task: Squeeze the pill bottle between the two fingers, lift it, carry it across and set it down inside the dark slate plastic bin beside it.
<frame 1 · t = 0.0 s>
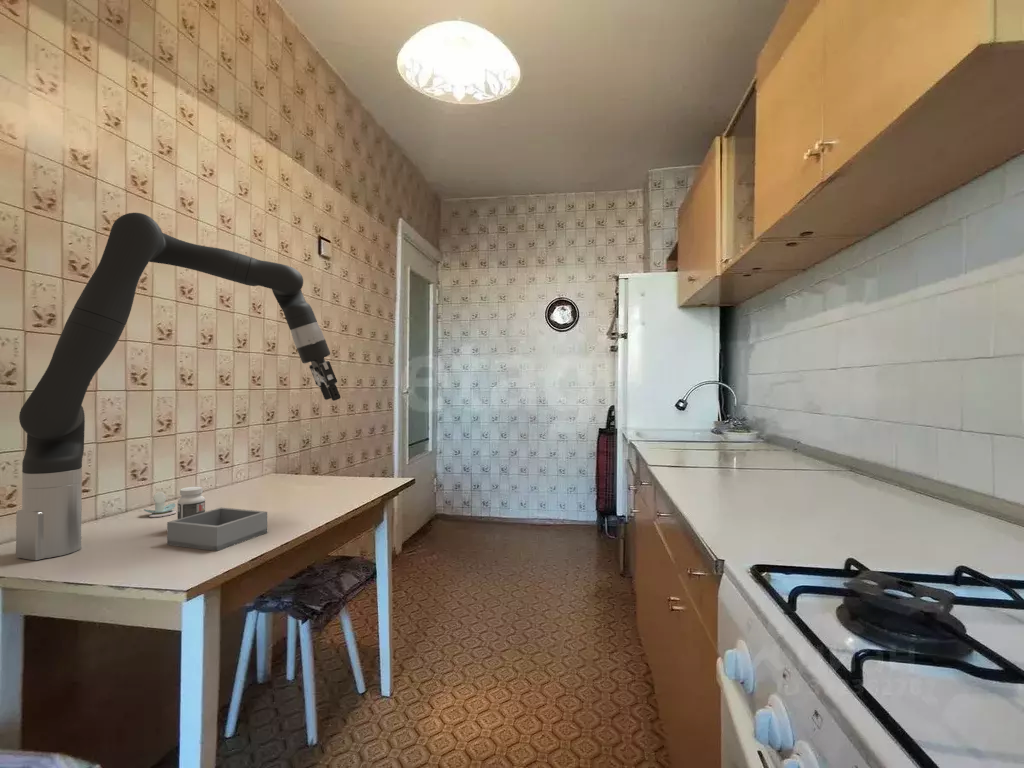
hand: (332, 399, 136), 31 cm above the table, tool tilted 20°, fingers open, 8 cm apart
bin: (219, 538, 115), on the table
pill bottle: (191, 529, 122), on the table
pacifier: (161, 516, 136), on the table
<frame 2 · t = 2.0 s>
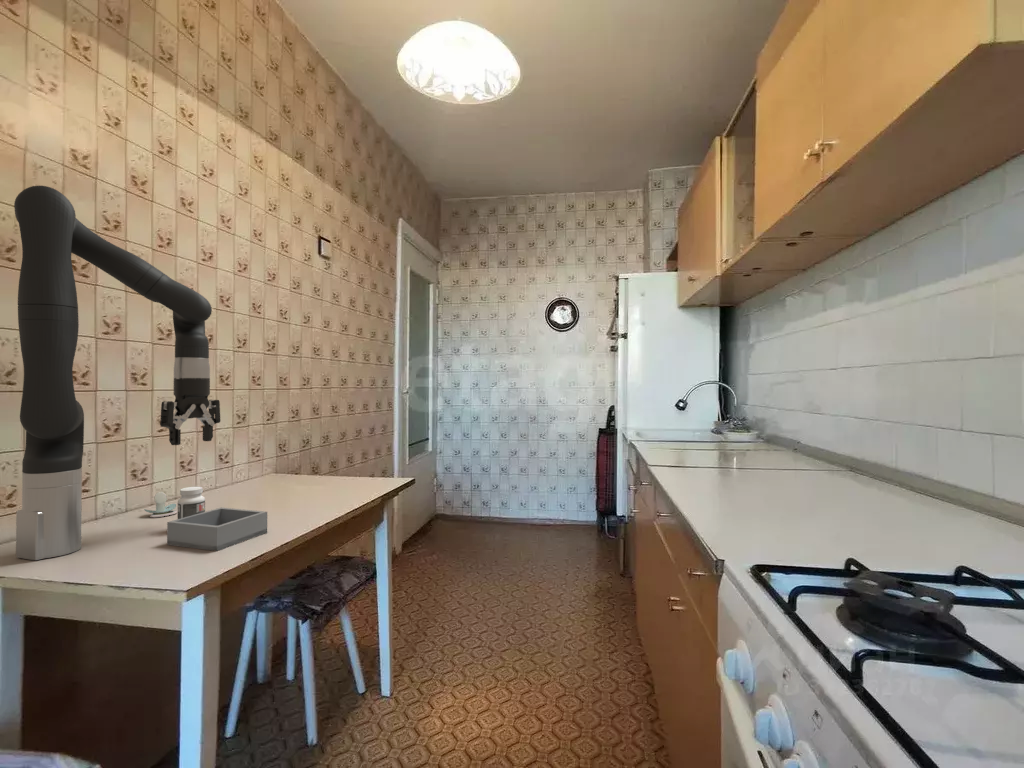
hand: (191, 443, 122), 21 cm above the table, tool pointing down, fingers open, 8 cm apart
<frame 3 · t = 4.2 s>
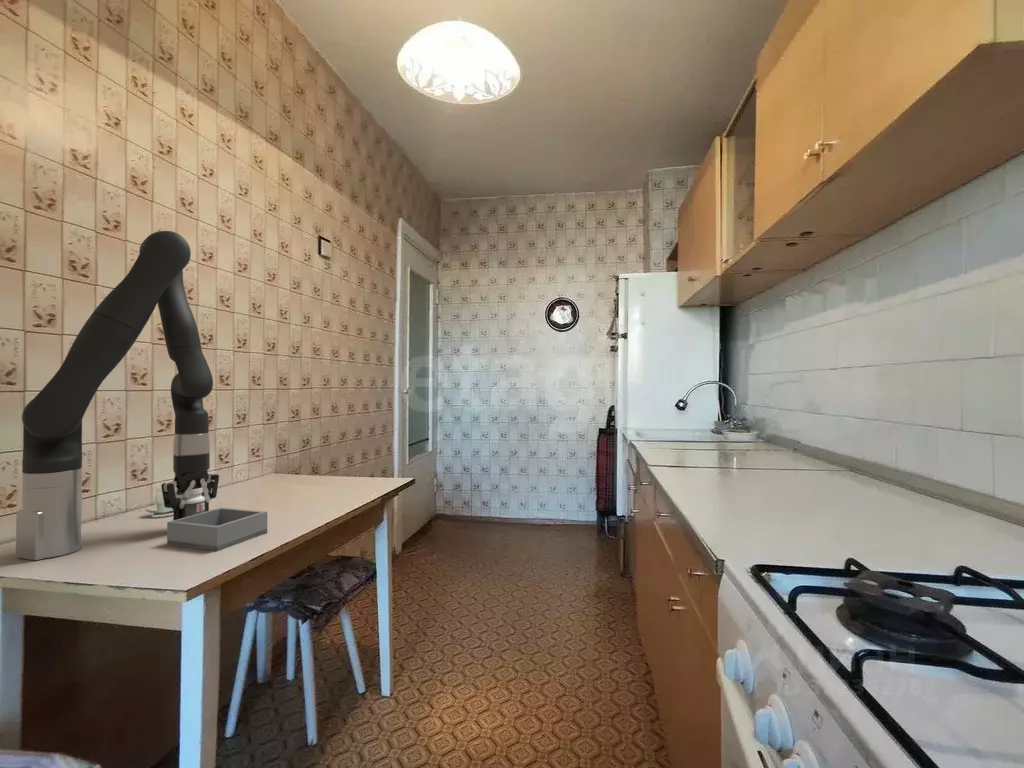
hand: (191, 520, 122), 2 cm above the table, tool pointing down, fingers closed on pill bottle, 5 cm apart
pill bottle: (191, 529, 122), on the table, touching gripper
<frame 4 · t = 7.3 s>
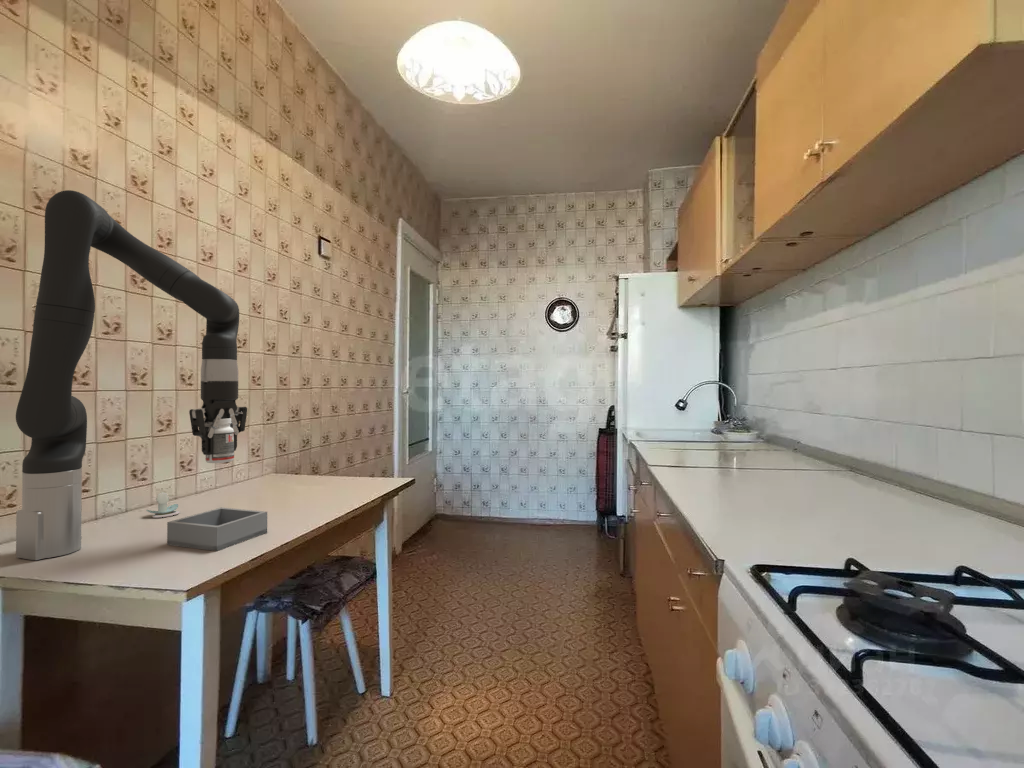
hand: (219, 452, 115), 20 cm above the table, tool pointing down, fingers closed on pill bottle, 5 cm apart
pill bottle: (219, 462, 115), point 17 cm above the table, touching gripper
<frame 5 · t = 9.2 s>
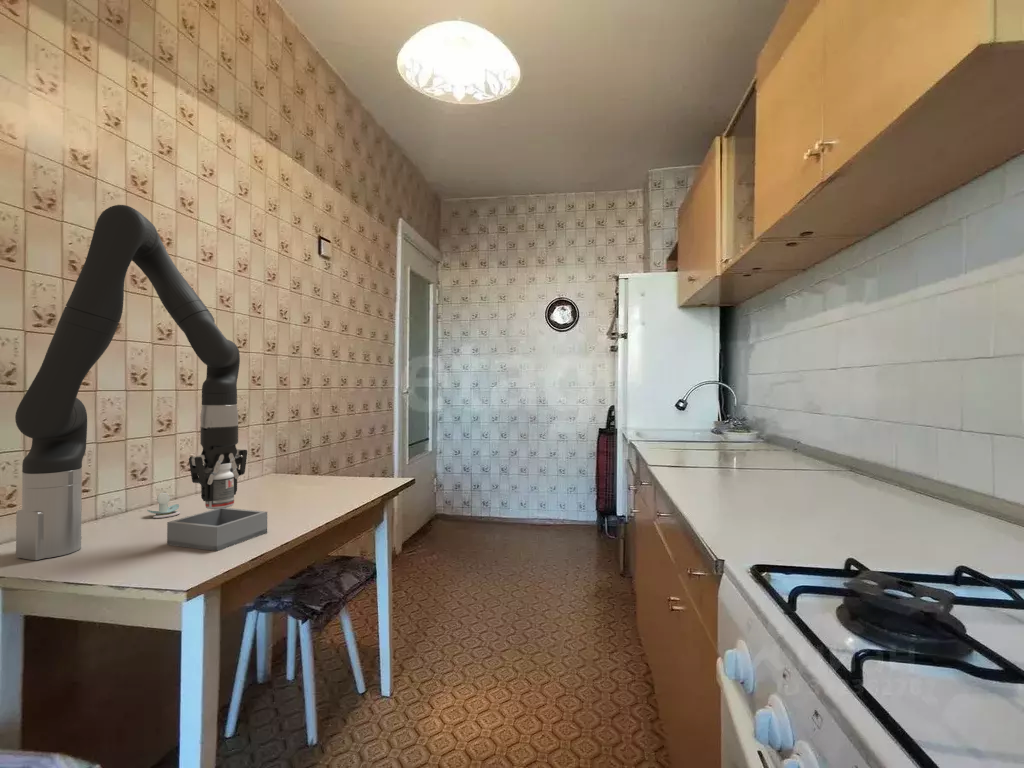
hand: (219, 497, 115), 9 cm above the table, tool pointing down, fingers closed on pill bottle, 5 cm apart
pill bottle: (219, 507, 115), point 7 cm above the table, touching gripper
when the fingers open (5 cm above the table, at t = 10.5 s): pill bottle drops 2 cm, resting on bin.
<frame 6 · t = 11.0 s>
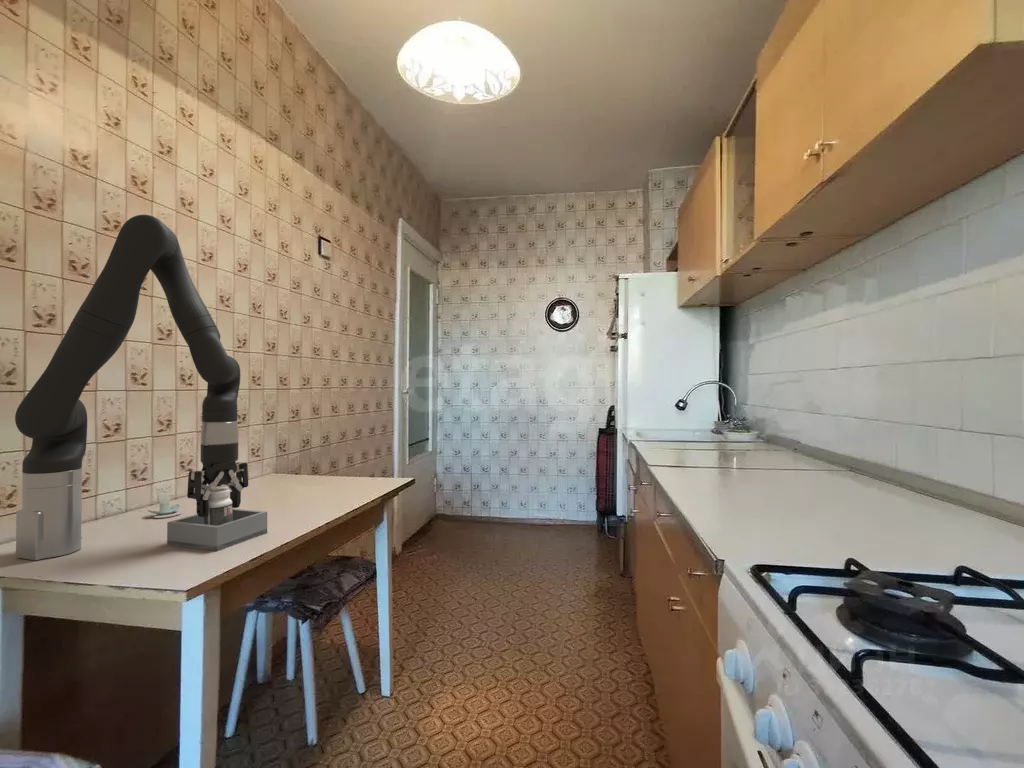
hand: (219, 511, 115), 6 cm above the table, tool pointing down, fingers open, 8 cm apart
pill bottle: (218, 534, 115), point 1 cm above the table, touching bin
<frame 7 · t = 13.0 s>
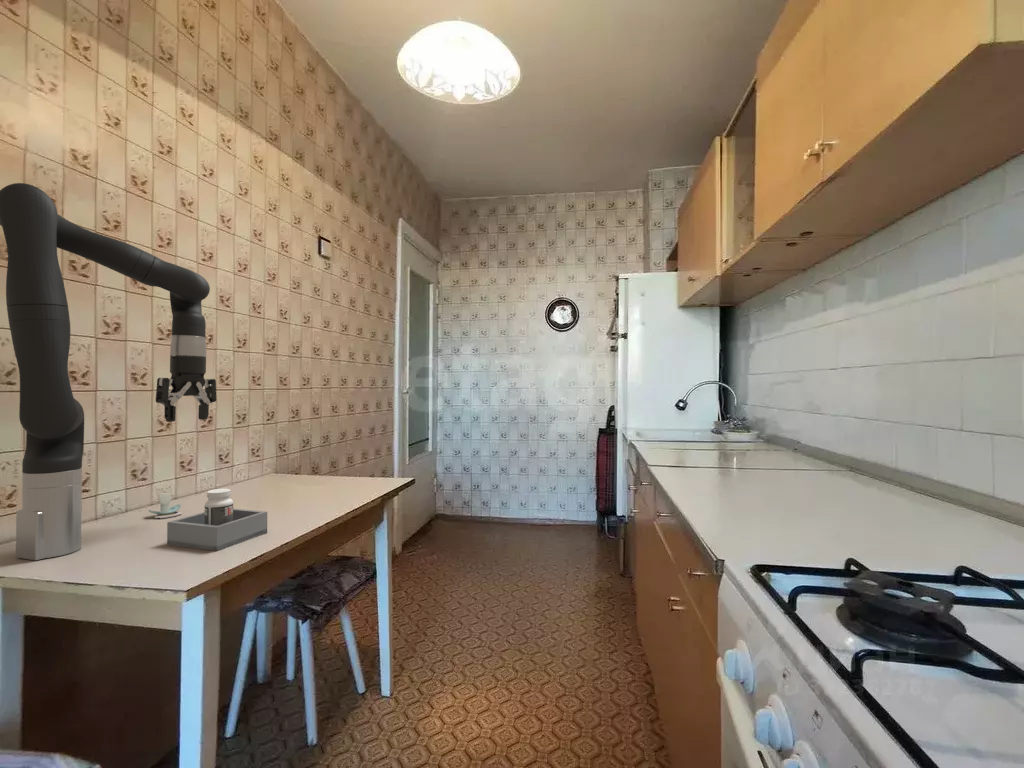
hand: (187, 420, 124), 26 cm above the table, tool pointing down, fingers open, 8 cm apart
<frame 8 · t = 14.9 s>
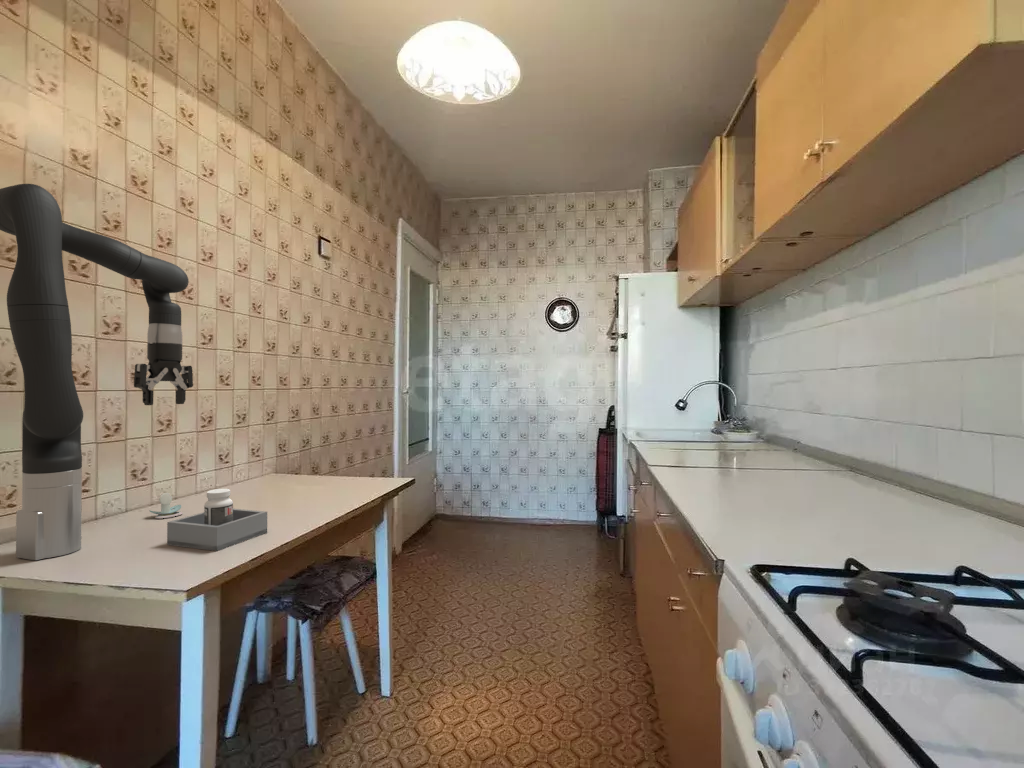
hand: (164, 404, 130), 30 cm above the table, tool pointing down, fingers open, 8 cm apart
at the end: pill bottle inside the target area on the bin (0.1 cm from its centre), point 0.8 cm above the bin's base; pill bottle tilted 0°; the gripper is holding nothing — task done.
